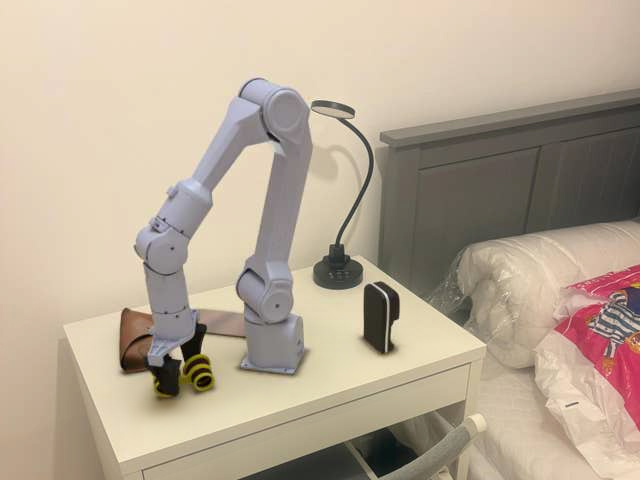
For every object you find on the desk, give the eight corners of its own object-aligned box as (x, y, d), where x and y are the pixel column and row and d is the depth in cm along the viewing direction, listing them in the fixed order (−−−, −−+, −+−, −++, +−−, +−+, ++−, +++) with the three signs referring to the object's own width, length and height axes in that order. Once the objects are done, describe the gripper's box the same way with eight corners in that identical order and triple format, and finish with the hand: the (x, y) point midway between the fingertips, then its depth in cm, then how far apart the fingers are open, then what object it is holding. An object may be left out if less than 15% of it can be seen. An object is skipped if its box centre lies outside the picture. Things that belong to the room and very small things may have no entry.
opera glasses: (156, 403, 105) (151, 382, 101) (152, 381, 108) (148, 359, 104) (216, 392, 107) (214, 371, 103) (211, 370, 110) (208, 349, 107)
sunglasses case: (172, 364, 112) (146, 338, 108) (140, 387, 112) (113, 362, 109) (166, 315, 126) (143, 290, 122) (138, 336, 127) (113, 312, 123)
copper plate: (259, 317, 126) (259, 315, 126) (245, 337, 119) (245, 336, 119) (197, 310, 128) (197, 309, 128) (180, 330, 122) (180, 329, 122)
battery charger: (400, 350, 115) (403, 291, 108) (382, 356, 113) (384, 297, 107) (379, 332, 120) (381, 275, 113) (361, 338, 118) (362, 280, 112)
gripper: (166, 281, 105) (178, 353, 113) (122, 325, 93) (139, 402, 101) (207, 285, 103) (216, 358, 111) (167, 331, 92) (181, 408, 100)
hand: (182, 379), depth 106 cm, fingers open, 7 cm apart
